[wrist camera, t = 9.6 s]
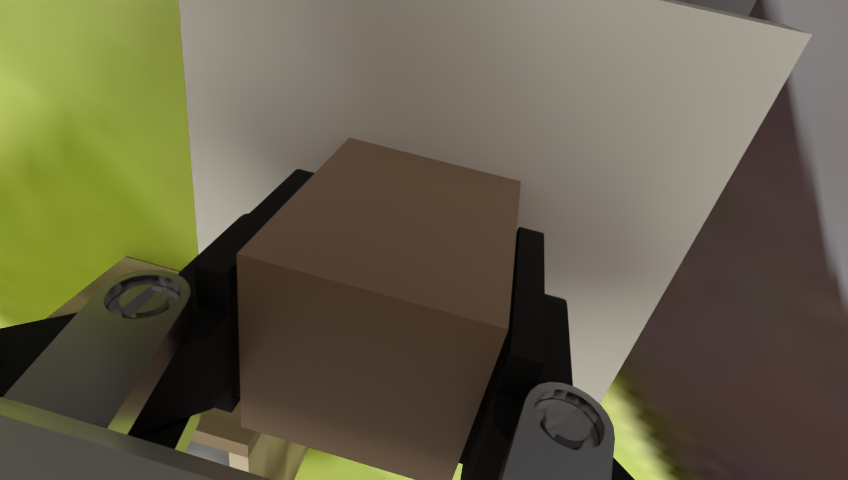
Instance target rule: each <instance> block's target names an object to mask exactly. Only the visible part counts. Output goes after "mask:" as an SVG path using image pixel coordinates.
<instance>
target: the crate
mask: <svg viewBox="0 0 848 480" xmlns="http://www.w3.org/2000/svg"><path fill="white" fill-rule="evenodd" d="M147 269H154V270H165V271H169V272H173V273H175V274H178V273H179V271H175V270H172V269H168V268H164V267H161V266H157V265H154V264H150V263H146V262H143V261H139V260H135V259H132V258H128V257H124V258H123V259H121V260H120V261H119V262H118V263H116V264H115V265H114V266H113V267H111V268H110V269H109V270H107V271H106V272H105V273H104V274H102V275H101V276H100V277H98V278H97V279H96V280H95V281H93V282H92V283H91V284H90V285H88V286H87V287H86V288H84V289H83V290H82V291H81V292H79V293H78V294H77V295H76V296H74V297H73V298H72V299H70V300H69V301H68V302H67V303H65V304H64V305H63V306H61V307H60V308H59V309H58V310H56V311H55V312H54V313H53V314H51V315H50V316H49V317H47V318H46V319H48V318H53V317H58V316H62V315H67V314H72V313H77V312H79V311H80V310H81V309H82V307H83V306H84V305H85V304H86V303H87V302H88V301H89V300H90V299H91V297H92V296H93V295H94V294H95V293H96V292H97V291H98V290H99V289H100V288H101V287H102V286H103V285H104V284H106V283H107V282H108V281H110V280H112V279H114V278H116V277H118V276H120V275H122V274H126V273H129V272H133V271H139V270H147ZM307 450H308V447H306V446H303V445H300V444H296V443H293V442H290V441H287V440H283V439H280V438H277V437H273V436H270V435H267V434H264V433H260V432H257V431H254V430H250V429H247V428H244V427H241V400H240V401H239V403H238V404H237V406H236V407H235V409H234V410H233V412H232V413H230V412H226V411H223V410H220V409H217V408H213V409H211V410H208V411H205V412H202V413H201V417H200V421H199V423H198V425H197V428H196V430H195V432H194V434H193V436H192V438H191V441H190V443H189V445H188V447H187V449H186V452H185V453H188V454H191V455H194V456H198V457H201V458H204V459H207V460H211V461H214V462H217V463H220V464H223V465H227V466H230V467H233V468H236V469H240V470H243V471H246V472H249V473H252V474H256V475H259V476H262V477H265V478H269V479H272V480H294V479H295V476H296V474H297V472H298V470H299V467H300V465H301V463H302V461H303V458H304V456H305V454H306V452H307Z"/></svg>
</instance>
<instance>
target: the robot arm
mask: <svg viewBox="0 0 848 480" xmlns="http://www.w3.org/2000/svg"><path fill="white" fill-rule="evenodd" d="M313 175H314V173H313V172H309V171H305V170H301V169H296V170H295V171H294V172H293V173H292V174H291V175H290V176H289V177H287V178H286V179H285V180H284V181H283V182H282V183H281V184H280V185H279V186H278V187H277V188H276V189H275V190H274V191H273V192H271V193H270V194H269V195H268V196H267V197H266V198H265V199H264V200H263V201H262V202H261V203H260V204H259V205H258V206H257V207H255V208H254V209H253V210H252V211H251V212H250V213H247V214H243V215H242V216H240V217H239V218H238V219H237V220H236V221H235V222H234V223H233V224H232V225H230V226H229V227H228V228H227V229H226V230H225V231H224V232H223V233H222V234H221V235H220V236H218V237H217V238H216V239H215V240H214V241H213V242H212V243H211V244H210V245H209V246H208V247H207V248H205V249H204V250H203V251H202V252H201V253H200V254H199V255H198V256H197V257H196V258H195V259H193V260H192V261H191V262H190V263H189V264H188V265H187V266H186V267H185V268H184V269H183V270H182V271H180V272H179V273H178V274H175V273H173V272H169V271H165V270H154V269H147V270H139V271H133V272H129V273H126V274H122V275H120V276H118V277H116V278H114V279H112V280H110V281H108V282H107V283H106V284H104V285H103V286H102V287H101V288H100V289H99V290H98V291H97V292H96V293H95V294H94V295H93V296H92V297H91V299H90V300H89V301H88V302H87V303H86V304H85V305H84V306H83V307H82V309H81V310H80V311H79V312H77V313H72V314H67V315H62V316H58V317H53V318H48V319H44V320H39V321H34V322H29V323H25V324H20V325H15V326H11V327H6V328H1V329H0V480H272V479H269V478H265V477H262V476H259V475H256V474H252V473H249V472H246V471H243V470H240V469H236V468H233V467H230V466H227V465H223V464H220V463H217V462H214V461H211V460H207V459H204V458H201V457H198V456H194V455H191V454H188V453H185V452H186V449H187V447H188V445H189V443H190V441H191V438H192V436H193V434H194V432H195V430H196V428H197V425H198V423H199V421H200V417H201V413H202V412H205V411H208V410H211V409H213V408H217V409H220V410H223V411H226V412H230V413H232V412H233V410H234V409H235V407H236V406H237V404H238V403H239V401H240V400H241V398H240V362H239V325H238V289H237V253H238V252H239V251H240V250H241V249H242V248H243V247H244V246H245V245H246V244H247V243H248V242H249V240H250V239H251V238H252V237H253V236H254V235H255V234H256V233H257V232H258V231H259V230H260V229H261V228H262V227H263V226H264V225H265V224H266V223H267V222H268V221H269V220H270V219H271V218H272V217H273V216H274V215H275V214H276V213H277V212H278V211H279V210H280V209H281V207H282V206H283V205H284V204H285V203H286V202H287V201H288V200H289V199H290V198H291V197H292V196H293V195H294V194H295V193H296V192H297V191H298V190H299V189H300V188H301V187H302V186H303V185H304V184H305V183H306V182H307V181H308V180H309V179H310V178H311V177H312V176H313ZM614 441H615V436H614V427H613V424H612V422H611V420H610V418H609V416H608V414H607V413H606V411H605V410H604V409H603V408H602V406H601V405H600V404H599V403H598V402H597V401H596V400H595V399H593V398H592V397H591V396H590V395H589V394H587V393H585V392H584V391H582V390H580V389H578V388H576V387H574V386H573V379H572V365H571V351H570V336H569V322H568V308H567V301H566V300H565V299H563V298H559V297H555V296H551V295H548V294H545V269H544V233H542V232H538V231H534V230H530V229H526V228H523V227H519V228H518V230H517V233H516V245H515V256H514V268H513V280H512V292H511V304H510V316H509V328H508V332H507V334H506V337H505V340H504V342H503V345H502V348H501V350H500V353H499V356H498V358H497V361H496V364H495V366H494V369H493V372H492V374H491V377H490V380H489V382H488V385H487V388H486V390H485V393H484V396H483V398H482V401H481V404H480V406H479V409H478V412H477V414H476V417H475V420H474V422H473V425H472V428H471V430H470V433H469V436H468V438H467V441H466V444H465V446H464V449H463V452H462V454H461V457H460V460H459V462H458V463H461V464H463V467H462V473H461V480H634V478H633V477H632V476H631V475H630V474H629V473H628V472H627V471H626V470H625V469H624V468H623V467H622V466H621V465H620V464H619V463H618V462H617V461H616V460H615V459H614V458H613V453H614Z"/></svg>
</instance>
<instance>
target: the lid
mask: <svg viewBox="0 0 848 480" xmlns="http://www.w3.org/2000/svg"><path fill="white" fill-rule="evenodd" d="M179 12H180V24H181V37H182V50H183V63H184V75H185V88H186V101H187V114H188V126H189V139H190V152H191V165H192V177H193V190H194V203H195V215H196V228H197V241H198V254H200V253H201V252H202V251H203V250H204V249H205V248H207V247H208V246H209V245H210V244H211V243H212V242H213V241H214V240H215V239H216V238H217V237H218V236H220V235H221V234H222V233H223V232H224V231H225V230H226V229H227V228H228V227H229V226H230V225H232V224H233V223H234V222H235V221H236V220H237V219H238V218H239V217H240V216H242V215H243V214H247V213H250V212H251V211H252V210H253V209H254V208H255V207H257V206H258V205H259V204H260V203H261V202H262V201H263V200H264V199H265V198H266V197H267V196H268V195H269V194H270V193H271V192H273V191H274V190H275V189H276V188H277V187H278V186H279V185H280V184H281V183H282V182H283V181H284V180H285V179H286V178H287V177H289V176H290V175H291V174H292V173H293V172H294V171H295V170H296V169H301V170H305V171H309V172H313V173H314V175H313V176H312V177H311V178H310V179H309V180H308V181H307V182H306V183H305V184H304V185H303V186H302V187H301V188H300V189H299V190H298V191H297V192H296V193H295V194H294V195H293V196H292V197H291V198H290V199H289V200H288V201H287V202H286V203H285V204H284V205H283V206H282V207H281V209H280V210H279V211H278V212H277V213H276V214H275V215H274V216H273V217H272V218H271V219H270V220H269V221H268V222H267V223H266V224H265V225H264V226H263V227H262V228H261V229H260V230H259V231H258V232H257V233H256V234H255V235H254V236H253V237H252V238H251V239H250V240H249V242H248V243H247V244H246V245H245V246H244V247H243V248H242V249H241V250H240V251H239V252H238V253H237V289H238V325H239V362H240V398H241V427H244V428H247V429H250V430H254V431H257V432H260V433H264V434H267V435H270V436H273V437H277V438H280V439H283V440H287V441H290V442H293V443H296V444H300V445H303V446H306V447H310V448H313V449H316V450H319V451H323V452H326V453H329V454H333V455H336V456H339V457H342V458H346V459H349V460H352V461H356V462H359V463H362V464H366V465H369V466H372V467H375V468H379V469H382V470H385V471H389V472H392V473H395V474H398V475H402V476H405V477H408V478H412V479H415V480H452V478H453V476H454V473H455V470H456V468H457V465H458V462H459V460H460V457H461V454H462V452H463V449H464V446H465V444H466V441H467V438H468V436H469V433H470V430H471V428H472V425H473V422H474V420H475V417H476V414H477V412H478V409H479V406H480V404H481V401H482V398H483V396H484V393H485V390H486V388H487V385H488V382H489V380H490V377H491V374H492V372H493V369H494V366H495V364H496V361H497V358H498V356H499V353H500V350H501V348H502V345H503V342H504V340H505V337H506V334H507V332H508V328H509V316H510V304H511V292H512V280H513V268H514V256H515V245H516V233H517V230H518V228H519V227H523V228H526V229H530V230H534V231H538V232H542V233H544V269H545V294H548V295H551V296H555V297H559V298H563V299H565V300H566V301H567V308H568V322H569V336H570V351H571V365H572V379H573V386H574V387H576V388H578V389H580V390H582V391H584V392H585V393H587V394H589V395H590V396H591V397H592V398H593V399H595V400H596V401H597V402H598V403H599V404H600V403H601V401H602V399H603V398H604V396H605V394H606V392H607V391H608V389H609V387H610V385H611V384H612V382H613V380H614V378H615V377H616V375H617V373H618V372H619V370H620V368H621V366H622V365H623V363H624V361H625V359H626V358H627V356H628V354H629V352H630V351H631V349H632V347H633V345H634V344H635V342H636V340H637V339H638V337H639V335H640V333H641V332H642V330H643V328H644V326H645V325H646V323H647V321H648V319H649V318H650V316H651V314H652V312H653V311H654V309H655V307H656V306H657V304H658V302H659V300H660V299H661V297H662V295H663V293H664V292H665V290H666V288H667V286H668V285H669V283H670V281H671V279H672V278H673V276H674V274H675V273H676V271H677V269H678V267H679V266H680V264H681V262H682V260H683V259H684V257H685V255H686V253H687V252H688V250H689V248H690V246H691V245H692V243H693V241H694V240H695V238H696V236H697V234H698V233H699V231H700V229H701V227H702V226H703V224H704V222H705V220H706V219H707V217H708V215H709V213H710V212H711V210H712V208H713V207H714V205H715V203H716V201H717V200H718V198H719V196H720V194H721V193H722V191H723V189H724V187H725V186H726V184H727V182H728V180H729V179H730V177H731V175H732V174H733V172H734V170H735V168H736V167H737V165H738V163H739V161H740V160H741V158H742V156H743V154H744V153H745V151H746V149H747V147H748V146H749V144H750V142H751V141H752V139H753V137H754V135H755V134H756V132H757V130H758V128H759V127H760V125H761V123H762V121H763V120H764V118H765V116H766V114H767V113H768V111H769V109H770V108H771V106H772V104H773V102H774V101H775V99H776V97H777V95H778V94H779V92H780V90H781V88H782V87H783V85H784V83H785V81H786V80H787V78H788V76H789V75H790V73H791V71H792V69H793V68H794V66H795V64H796V62H797V61H798V59H799V57H800V55H801V54H802V52H803V50H804V48H805V47H806V45H807V43H808V41H809V40H810V38H811V36H812V34H809V33H807V32H804V31H801V30H798V29H795V28H792V27H789V26H787V25H784V24H779V23H775V22H770V21H766V20H761V19H757V18H752V17H748V16H743V15H739V14H734V13H730V12H726V11H721V10H717V9H712V8H708V7H703V6H699V5H694V4H690V3H685V2H681V1H676V0H179Z"/></svg>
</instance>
